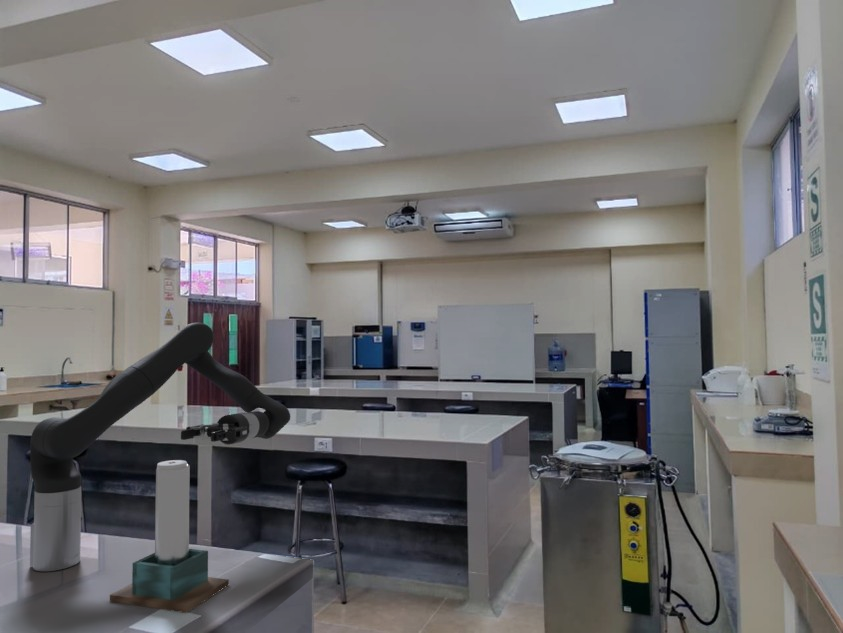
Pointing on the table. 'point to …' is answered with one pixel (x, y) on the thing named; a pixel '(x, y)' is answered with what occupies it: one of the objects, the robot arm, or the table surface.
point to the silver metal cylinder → (172, 512)
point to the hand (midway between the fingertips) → (197, 436)
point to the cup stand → (170, 583)
